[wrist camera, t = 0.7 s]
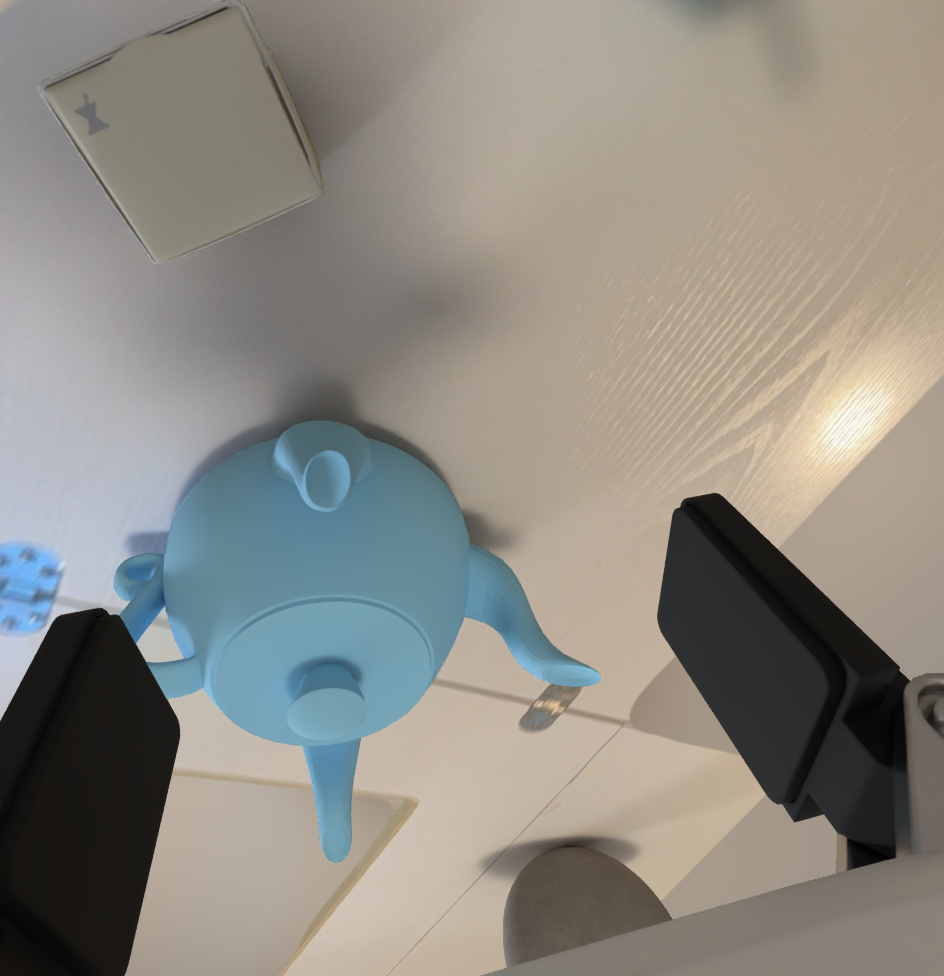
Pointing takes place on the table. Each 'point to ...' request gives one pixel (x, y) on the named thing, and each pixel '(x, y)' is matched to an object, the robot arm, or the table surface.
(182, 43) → the box
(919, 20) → the table surface
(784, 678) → the robot arm
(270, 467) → the teapot
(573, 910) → the planter
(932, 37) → the table surface
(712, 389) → the table surface
